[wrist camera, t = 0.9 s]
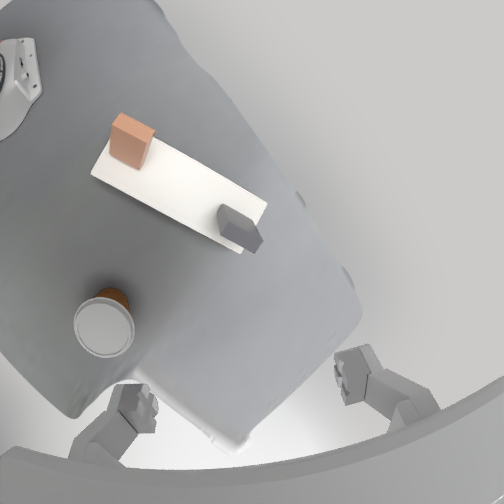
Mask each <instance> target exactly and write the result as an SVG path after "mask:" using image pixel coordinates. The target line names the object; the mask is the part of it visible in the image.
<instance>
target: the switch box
mask: <svg viewBox="0 0 504 504" xmlns="http://www.w3.org/2000/svg"><path fill="white" fill-rule="evenodd" d="M109 149H110V140H109V141H108V143H107V145H106V146H105V148H104V150H103V152H102V153H101V155H100V157H99V159H98V160H97V162H96V164H95V166H94V168H93V169H92V171H91V173H90V174H91V175H93V176H95V177H97V178H99V179H100V180H102V181H104V182H106V183H108V184H110V185H112V186H113V187H115V188H117V189H119V190H121V191H123V192H125V193H126V194H128V195H130V196H132V197H134V198H136V199H138V200H139V201H141V202H143V203H145V204H147V205H149V206H151V207H152V208H154V209H156V210H158V211H160V212H162V213H164V214H165V215H167V216H169V217H171V218H173V219H175V220H177V221H179V222H180V223H182V224H184V225H186V226H188V227H190V228H192V229H194V230H195V231H197V232H199V233H201V234H203V235H205V236H207V237H209V238H210V239H212V240H214V241H216V242H218V243H220V244H222V245H224V246H226V247H227V248H229V249H231V250H233V251H235V252H237V253H239V254H241V253H242V251H243V249H244V248H243V247H241V246H239V245H237V244H235V243H234V242H232V241H230V240H228V239H226V238H224V237H222V236H221V235H220V232H219V226H218V221H217V211H218V209H219V207H220V206H221V204H226V205H227V206H229V207H231V208H232V209H234V210H236V211H238V212H239V213H241V214H243V215H245V216H246V217H248V218H250V219H251V220H253V222H254V224H255V226H256V224H257V223H258V221H259V219H260V217H261V215H262V213H263V211H264V209H265V208H266V206H267V204H268V203H266V202H264V201H263V200H261V199H260V198H258V197H256V196H255V195H253V194H251V193H250V192H248V191H246V190H245V189H243V188H242V187H240V186H238V185H237V184H235V183H233V182H231V181H230V180H228V179H226V178H225V177H223V176H221V175H220V174H218V173H216V172H215V171H213V170H211V169H209V168H208V167H206V166H204V165H202V164H201V163H199V162H197V161H195V160H194V159H192V158H190V157H188V156H187V155H185V154H183V153H181V152H180V151H178V150H176V149H174V148H172V147H171V146H169V145H167V144H165V143H163V142H162V141H160V140H158V139H156V138H154V137H153V139H152V142H151V145H150V147H149V150H148V153H147V156H146V159H145V161H144V163H143V165H142V167H141V168H140V170H138V169H136V168H134V167H132V166H130V165H129V164H127V163H125V162H123V161H121V160H119V159H117V158H116V157H114V156H112V155H110V154H109Z"/></svg>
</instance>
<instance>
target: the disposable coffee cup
mask: <svg viewBox="0 0 504 504" xmlns="http://www.w3.org/2000/svg"><path fill="white" fill-rule="evenodd" d="M74 330H75V333H76V336H77V338H78V340H79V342H80V344H81V345H82V346H83V348H84V349H86V350H87V351H88V352H89V353H91V354H93V355H95V356H98V357H102V358H111V357H115V356H118V355H120V354H122V353H123V352H125V351H126V350H127V349H128V348H129V347H130V345H131V344H132V342H133V339H134V334H135V327H134V322H133V319H132V317H131V315H130V312H129V306H128V301H127V298H126V297H125V295H124V294H123V293H122V292H121V291H119V290H117V289H114V288H107V289H104V290H102V291H101V292H99V293H98V294H97V295H96V296H95V297H93V298H92V299H89V300H87V301H85V302H84V303H82V304H81V306H80V307H79V308H78V309H77V311H76V313H75V317H74Z"/></svg>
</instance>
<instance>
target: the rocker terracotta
mask: <svg viewBox="0 0 504 504" xmlns="http://www.w3.org/2000/svg"><path fill="white" fill-rule="evenodd" d="M154 133H155V130H153V129H152V128H150V127H148V126H146V125H144V124H142V123H140V122H138V121H136V120H135V119H133V118H131V117H129V116H127V115H125V114H123V113H120V114H119V115H118V117H117V118H116V119H115V121H114V122H113V123H112V125H111V136H110V149H109V154H110V155H112V156H114V157H116V158H117V159H119V160H121V161H123V162H125V163H127V164H129V165H130V166H132V167H134V168H136V169H138V170H140V168H141V167H142V165H143V163H144V161H145V159H146V156H147V153H148V150H149V147H150V145H151V142H152V139H153V136H154Z"/></svg>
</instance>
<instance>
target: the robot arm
mask: <svg viewBox="0 0 504 504" xmlns="http://www.w3.org/2000/svg"><path fill="white" fill-rule="evenodd" d="M22 42H23V43H22ZM36 85H37V86H36ZM35 86H36V88H34V87H35ZM41 93H42V84H41V78H40V72H39V66H38V60H37V52H36V45H35V40H34V39H33V38H21V39H7V40H4V41H1V42H0V141H1V140H3V139H5V138H6V137H8V136H9V135H11V134H12V133H13V132H14V131H15V130H16V129H17V128H18V127H19V125H20V124H21V123H22V121H23V120H24V118H25V116H26V114H27V112H28V110H29V108H30V107H31V105H32V104H33V103H34V102H35V101H36V100H37V99H38V97H39V96H40V95H41ZM334 360H335V363H336V365H335V366H334V372H335V378H336V382H337V384H338V386H339V387H340V388H341V395H342V398H343V401H344V403H345V405H346V406H347V405H350V404H354V403H357V402H361V401H365V402H366V403H367V404H369V405H370V406H371V407H373V408H374V409H375V410H377V411H378V412H379V413H381V414H382V415H384V416H385V417H386V418H388V419H389V420H391V423H390V426H389V429H388V431H387V433H386V434H383V435H380V436H377V437H375V438H372V439H369V440H366V441H362V442H359V443H356V444H353V445H349V446H346V447H343V448H339V449H335V450H331V451H327V452H323V453H319V454H315V455H311V456H306V457H301V458H296V459H291V460H285V461H279V462H273V463H267V464H259V465H252V466H244V467H233V468H221V469H203V470H156V469H138V468H126V467H125V466H124V465H122V464H121V463H120V462H119V461H118V460H119V459H120V458H121V456H122V455H123V454H124V453H125V451H126V450H127V449H128V447H129V446H130V445H131V443H132V442H133V441H134V439H135V438H136V437H137V435H138V433H155V427H156V420H155V419H154V417H155V416H156V415H157V414H158V402H157V399H156V397H155V395H154V394H152V393H150V392H149V391H150V388H149V386H148V385H147V384H117V385H116V386H115V387H114V389H113V393H112V395H111V399H110V402H109V405H108V408H107V411H104V412H103V413H101V414H100V415H99V416H98V417H97V418H96V419H95V420H94V421H93V422H92V423H91V424H90V425H88V426H87V427H86V428H85V429H84V430H83V431H82V432H81V433H80V434H79V435H78V436H77V437H76V438H74V441H73V443H72V446H71V450H70V453H69V456H68V459H66V458H61V457H57V456H52V455H48V454H44V453H40V452H37V451H33V450H30V449H26V448H23V447H20V446H14V447H12V448H11V449H9V450H8V451H6V452H5V453H4V454H3V455H1V456H0V504H504V376H502V377H500V378H498V379H497V380H495V381H493V382H491V383H490V384H488V385H487V386H485V387H483V388H482V389H480V390H478V391H477V392H475V393H473V394H471V395H469V396H468V397H466V398H464V399H462V400H460V401H458V402H457V403H455V404H453V405H451V406H449V407H447V408H445V409H443V410H441V409H440V407H439V406H438V404H437V402H436V400H435V399H434V397H433V395H432V394H431V392H430V390H429V389H427V388H425V387H422V386H421V385H419V384H417V383H415V382H412V381H410V380H409V379H407V378H405V377H402V376H401V375H399V374H397V373H395V372H392V371H390V370H388V369H383V367H382V365H381V364H380V362H379V360H378V358H377V357H376V355H375V353H374V351H373V350H372V347H371V346H370V345H369V344H365V345H362V346H359V347H355V348H351V349H348V350H344V351H340V352H337V353H335V355H334Z"/></svg>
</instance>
